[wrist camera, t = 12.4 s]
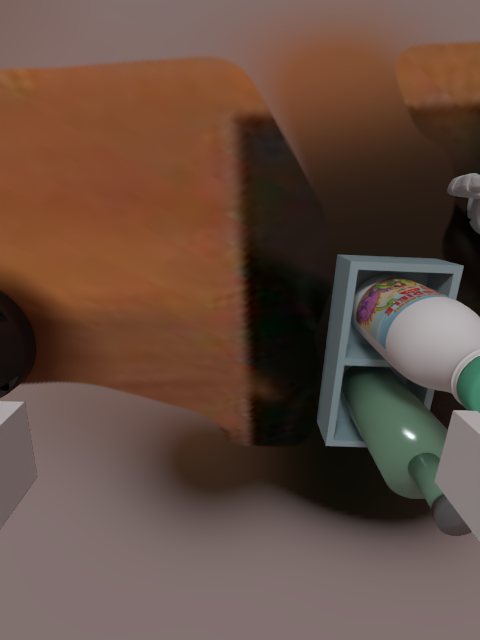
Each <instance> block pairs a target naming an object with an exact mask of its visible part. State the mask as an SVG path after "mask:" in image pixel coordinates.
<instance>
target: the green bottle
mask: <svg viewBox="0 0 480 640" xmlns="http://www.w3.org/2000/svg"><path fill="white" fill-rule="evenodd" d="M340 396H341V399H342V401H343V403H344V404H345V406H346V408H347V410H348V412H349V414H350V416H351V418H352V420H353V421H354V423H355V425H356V427H357V429H358V431H359V433H360V435H361V436H362V438H363V440H364V442H365V444H366V446H367V447H368V450H369V452H370V453H371V455H372V457H373V459H374V461H375V463H376V465H377V467H378V469H379V470H380V472H381V474H382V476H383V478H384V480H385V482H386V483H387V485H388V486H389V487H390V489H391V490H393V491H394V492H395V493H397V494H399V495H401V496H404V497H407V498H412V499H423V498H425V499H426V501H427V502H428V504H429V506H430V507H431V516H432V518H433V520H434V521H435V523H436V524H437V526H438V528H439V529H440V530H441V531H442V532H444V533H445V534H448V535H452V536H460V535H465V534H468V533H471V532H472V531H471V530H470V528H469V527H468V526H467V524H466V523H465V522H464V520H463V519H462V518H461V516H460V515H459V514H458V512H457V511H456V509H455V508H454V507H453V505H452V504H451V503H450V501H449V500H448V499H447V497H446V496H445V495H444V493H443V492H442V491H441V489H440V488H439V487H438V485H437V484H436V483H435V477H436V474H437V470H438V466H439V462H440V459H441V455H442V451H443V447H444V443H445V440H446V436H447V432H448V430H447V429H446V428H445V427H444V426H443V424H442V423H441V422H440V421H439V420H438V419H437V418H436V417H435V416H434V415H433V414H432V413H431V412H430V411H429V409H428V408H427V407H426V406H425V405H424V404H423V403H422V402H421V401H420V400H419V399H418V398H417V397H416V396H415V394H414V393H413V392H412V391H411V390H410V389H409V388H408V387H407V386H406V385H405V384H404V383H403V382H402V381H401V379H400V378H399V377H398V376H397V375H396V374H395V373H394V372H393V371H392V370H391V369H390V368H389V367H376V366H352V367H350V368H349V369H348V370H347V371H346V372H345V373H344V375H343V378H342V385H341V392H340Z"/></svg>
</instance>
